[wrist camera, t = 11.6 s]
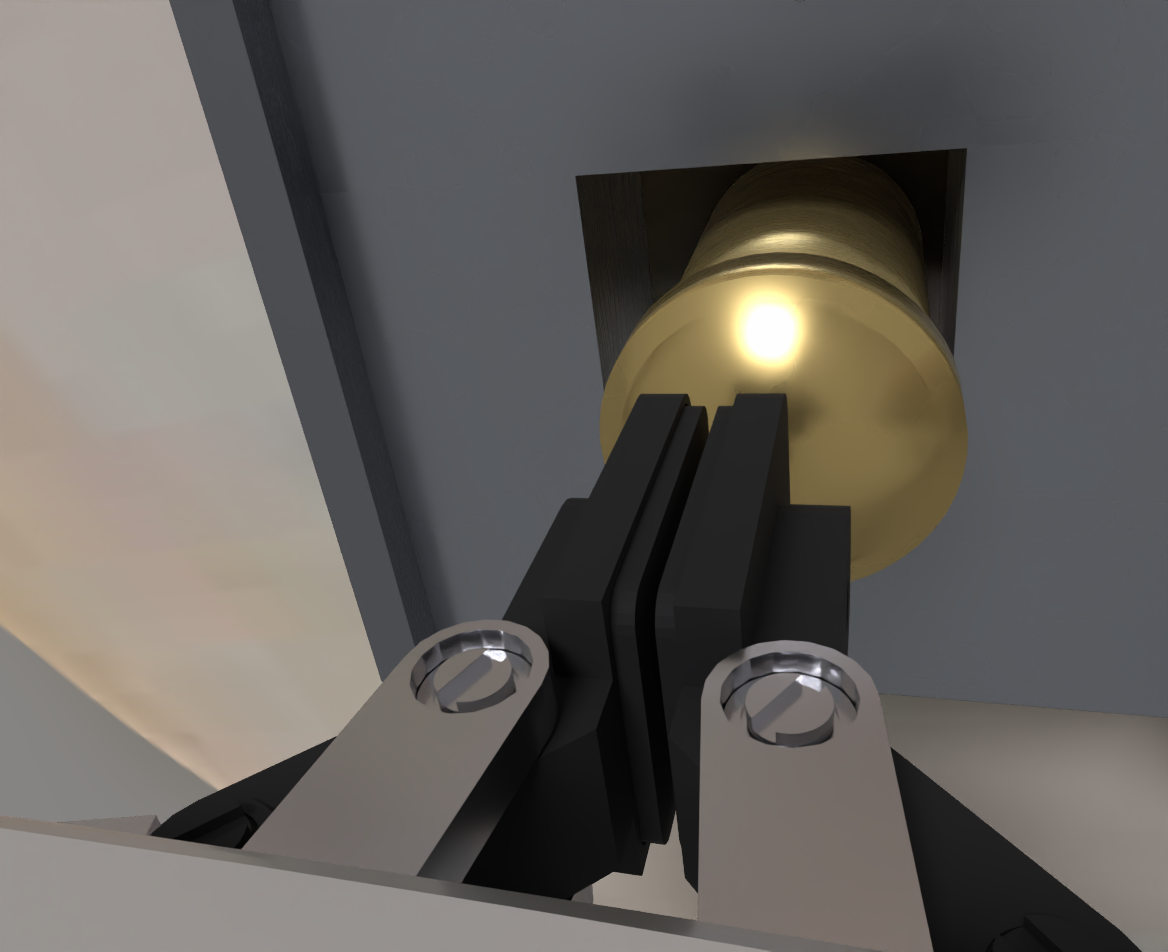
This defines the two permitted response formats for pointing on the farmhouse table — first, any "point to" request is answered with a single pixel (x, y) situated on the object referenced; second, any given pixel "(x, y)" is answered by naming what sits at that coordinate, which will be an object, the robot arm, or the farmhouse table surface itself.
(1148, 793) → the farmhouse table surface
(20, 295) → the farmhouse table surface
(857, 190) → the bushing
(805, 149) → the jig
